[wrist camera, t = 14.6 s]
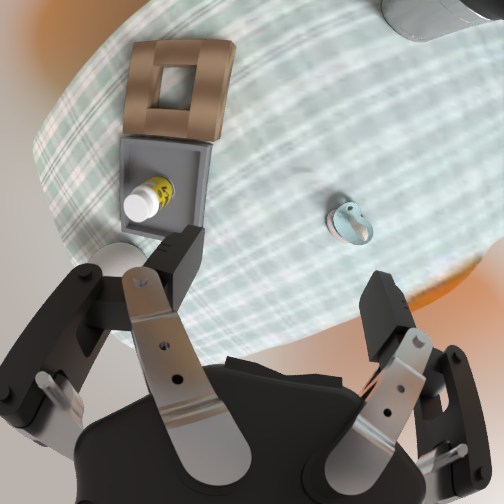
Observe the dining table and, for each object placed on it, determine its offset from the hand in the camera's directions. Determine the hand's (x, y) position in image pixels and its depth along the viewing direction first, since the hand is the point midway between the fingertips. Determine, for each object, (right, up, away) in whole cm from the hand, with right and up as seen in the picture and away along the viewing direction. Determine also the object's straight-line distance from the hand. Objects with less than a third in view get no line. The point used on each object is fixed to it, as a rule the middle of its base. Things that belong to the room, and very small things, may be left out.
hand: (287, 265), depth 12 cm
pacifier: (+13, +5, +28) cm, 31 cm away
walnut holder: (-12, +24, +20) cm, 33 cm away
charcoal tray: (-15, +11, +28) cm, 34 cm away
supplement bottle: (-15, +10, +28) cm, 34 cm away
